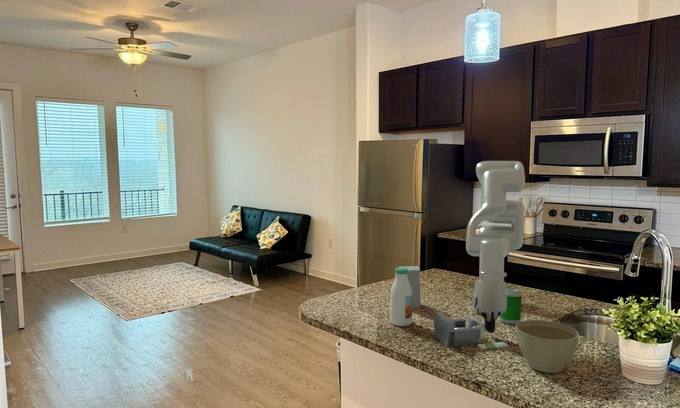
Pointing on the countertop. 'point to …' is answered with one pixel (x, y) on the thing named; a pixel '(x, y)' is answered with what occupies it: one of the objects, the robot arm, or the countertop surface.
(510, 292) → the soda can
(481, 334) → the plunger
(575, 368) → the countertop surface
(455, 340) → the bracket
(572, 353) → the planter bowl
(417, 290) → the skincare box
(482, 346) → the strip
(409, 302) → the milk bottle
